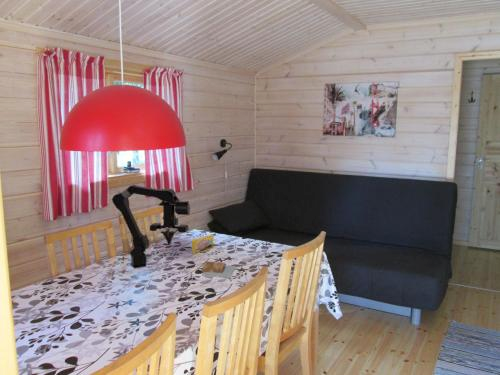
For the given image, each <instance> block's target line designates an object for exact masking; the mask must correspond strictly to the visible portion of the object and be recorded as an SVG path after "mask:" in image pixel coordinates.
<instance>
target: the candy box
mask: <svg viewBox="0 0 500 375" xmlns="http://www.w3.org/2000/svg"><path fill="white" fill-rule="evenodd" d="M191 242H192V244H191V255H197V254H199V253H202V252H206V251H208V250H212V249H214V234H208V235H205V236H201V237H199V238H195V239H192V241H191Z"/></svg>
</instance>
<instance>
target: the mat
mask: <svg viewBox="0 0 500 375" xmlns="http://www.w3.org/2000/svg"><path fill="white" fill-rule="evenodd" d="M236 268H237V265H228V264H225V269H224V271H223V272H222V273H214V272H202V275H201V276H202V277H203V276H205V277H217V278H231V277H232V275H233V273H234V271H235V270H236Z"/></svg>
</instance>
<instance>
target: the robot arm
mask: <svg viewBox="0 0 500 375" xmlns="http://www.w3.org/2000/svg"><path fill="white" fill-rule="evenodd" d="M135 194H136V195H140V196H145V197H151V198H156V199H158V200H160V201H161V202H159V204H158V206H159V207H160V206H161V207H163V209H162V211H163V212H162V213H163V214H162V221H163V224H161V223H160V222H158V223H157V222H154V223H152V224H150V226H149V231H151V232H156V231H157V230H160V234H162V235H163V237H164V238H165V240H166V242H167V244H168V245H171V243H172V241H173V238H174V235H175V234H176V233H182V234H183V233H184V234H186V233H187V232H188V231H189V230H190V228H189V225H188V224H179V219H178V218H176V214H177V215H178V216H179V215H181V216H189V215H191V214H190V212H191V206H190V201H188V200H187V201H185V200H184V201H181V200H180V198H178V196H177V195H176V191H175V190H174V189H173V188H153V187H147V186H140V185H136V184H132V185H129V186H128V187H127V188H126V189H125V190H123V191H122V192H118V193H116V194H114V195H113V196H112V198H111V200H112V204H113V205H114V206H115V208H116V209H117V210H118V211H119V212H120V213H121V215H122V218H123V219H124V221H125V224H126V225H127V228H128V230H129V232H130V234H131V237H132V245H133V248H132V250H131V251H130V252H129V254H130V257H131V259H130V260H131V263H130V266H132V267H133V269H136V268H137V269H138V268H142V267H147V256H146V253H145V252H146V250H147V249H148V248H149V247H150V239H149V238H148V236H147V234H143V233H142V232H141V230H140V228H139V225H138V224H137V221H136V219H135V217H134V215H133V212H132V210H131V208H130V200H129V198H130V197H132V195H135Z"/></svg>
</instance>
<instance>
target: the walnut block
mask: <svg viewBox="0 0 500 375" xmlns="http://www.w3.org/2000/svg"><path fill="white" fill-rule="evenodd" d="M225 265H226V262H223V261H221V262H219V261H205V262H204V263H203V265H201V266H202V267H201V268H202V269H201V270H202V271H201V272H202V273H204V272H214V273H222V272H223V271H224V269H225Z"/></svg>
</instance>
